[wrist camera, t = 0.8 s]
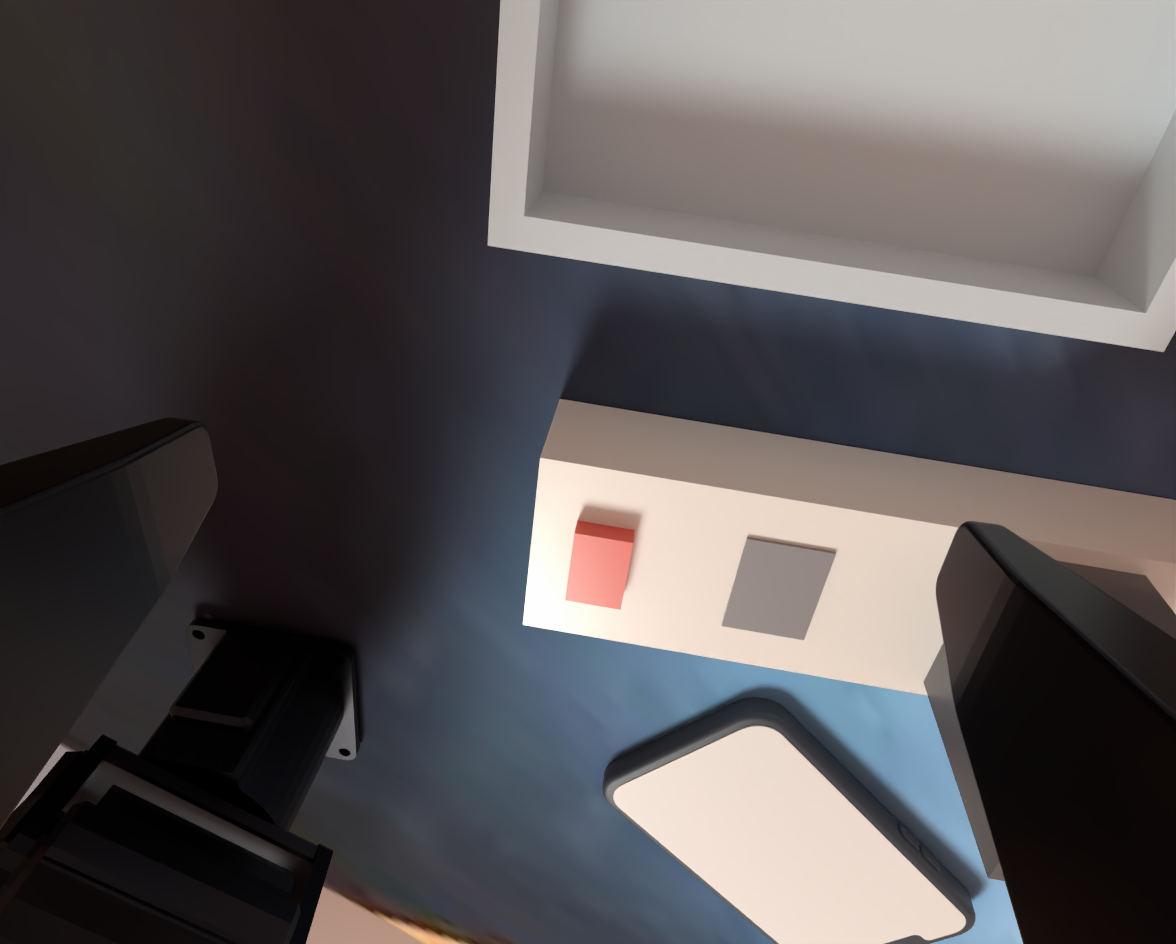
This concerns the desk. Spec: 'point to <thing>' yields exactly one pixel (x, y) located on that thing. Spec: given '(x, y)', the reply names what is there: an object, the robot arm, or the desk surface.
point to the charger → (1117, 584)
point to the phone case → (785, 832)
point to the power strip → (789, 542)
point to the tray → (855, 151)
